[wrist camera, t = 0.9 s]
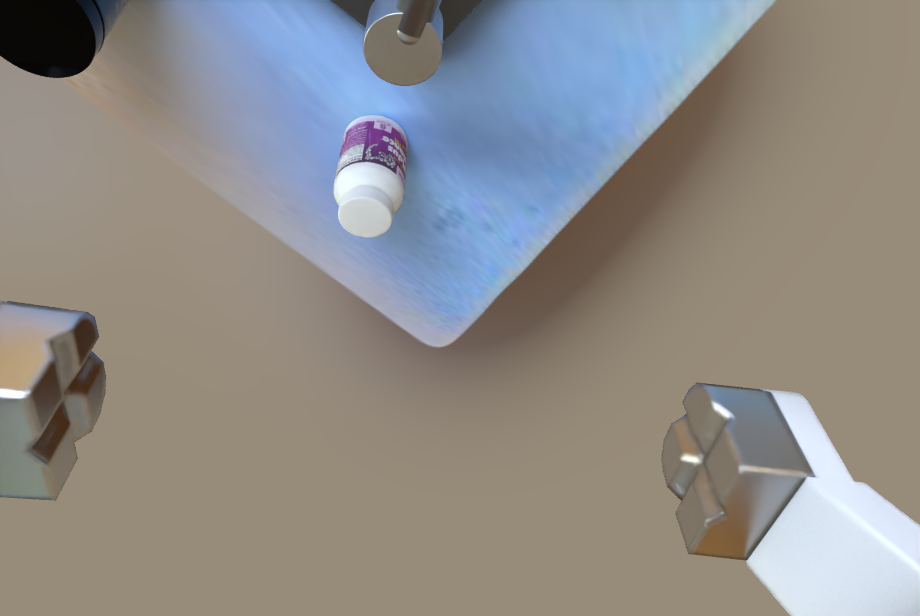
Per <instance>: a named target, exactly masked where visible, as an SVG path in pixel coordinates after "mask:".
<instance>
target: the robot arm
mask: <svg viewBox="0 0 920 616" xmlns="http://www.w3.org/2000/svg"><path fill="white" fill-rule="evenodd" d="M98 338H99V334H98V329H97V325H96V320H95V317H94V316H93V315H91V314H90V313H88V312H83V311H77V310H69V309H62V308H55V307H47V306H40V305H33V304H25V303H18V302H11V301H7V302H4V301H0V497H7V498H23V499H40V500H56V499H57V497H58V495H59V493H60V491H61V490H62V488H63V486H64V484H65V482H66V480H67V478H68V476H69V474H70V472H71V470H72V468H73V467H74V465H75V463H76V461H77V459H78V457H77V452H76V448H75V443H74V442H76V441H77V440H79V439H81V438H82V437H83V436H85V435H87V434H89V433H90V432H92V430H93V428H94V425H95V424H96V422H97V419H98V417H99V415H100V412H101V408H102V404H103V400H104V396H105V387H106V383H105V382H106V375H105V368H104V363H103V361H102V360H101V359H100V358H99V357H97V355H95V354H94V353H93V352H92V351H91V350H92V348H93V347H94V345H95V343H96V341H97V340H98ZM683 405H684V408H685V410H686V413H687V414H686V415H684V416H683V417H681V418H680V419H678V420H676V421H675V422H673V423H671V426H670V428H669V430H668V432H667V434H666V437H665V439H664V444H663V451H662V466H663V474H664V477H665V481H666V484H667V487H668V488H669V489H670V490H671V491H672V492H673V493H674V494H675V495H676V496H677V497H678V498H679V499H680V500H681V501H682V502H681V503H680V505H679V507H678V509H677V511H676V516H677V520H678V523H679V526H680V529H681V532H682V535H683V538H684V541H685V545H686V548H687V551H688V554H694V555H703V556H712V557H721V558H730V559H739V560H747V561H746V565H747V566H748V567H749V568H750V569H751V570H752V572H753V573H754V574H755V575H756V576H757V577H758V578H759V580H760V581H761V582H762V583H763V584H764V585H765V587H766V588H767V589H768V590H769V591H770V592H771V594H772V595H773V596H774V597H775V598H776V599H777V600H778V602H779V603H780V604H781V605H782V606H783V608H784V609H785V610H786V611H787V612H788V613H789V615H790V616H920V525H919V524H917V523H916V522H915V521H913V520H912V519H911V518H910V517H908V516H907V515H905V514H904V513H903V512H902V511H900V510H899V509H898V508H896V507H895V506H894V505H893V504H891V503H890V502H889V501H887V500H886V499H885V498H883V497H882V496H881V495H880V494H878V493H877V492H876V491H874V490H873V489H872V488H871V487H869V486H868V485H867V484H865V483H860V482H854V481H853V479H852V477H851V475H850V474H849V472H848V470H847V469H846V467H845V465H844V464H843V462H842V460H841V458H840V456H839V455H838V453H837V451H836V449H835V448H834V446H833V444H832V443H831V441H830V439H829V437H828V436H827V434H826V432H825V430H824V429H823V427H822V425H821V424H820V422H819V420H818V418H817V417H816V415H815V413H814V412H813V410H812V408H811V406H810V404H809V403H808V401H807V399H806V398H804V397H803V396H802V395H801V394H799V393H798V392H788V391H778V390H767V389H764V390H760V389H751V388H743V387H732V386H724V385H715V384H706V383H696V384H695V385H693V386H692V387H691V388H690V389H689V390H688V392H687V394H686V396H685V398H684V400H683Z"/></svg>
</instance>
